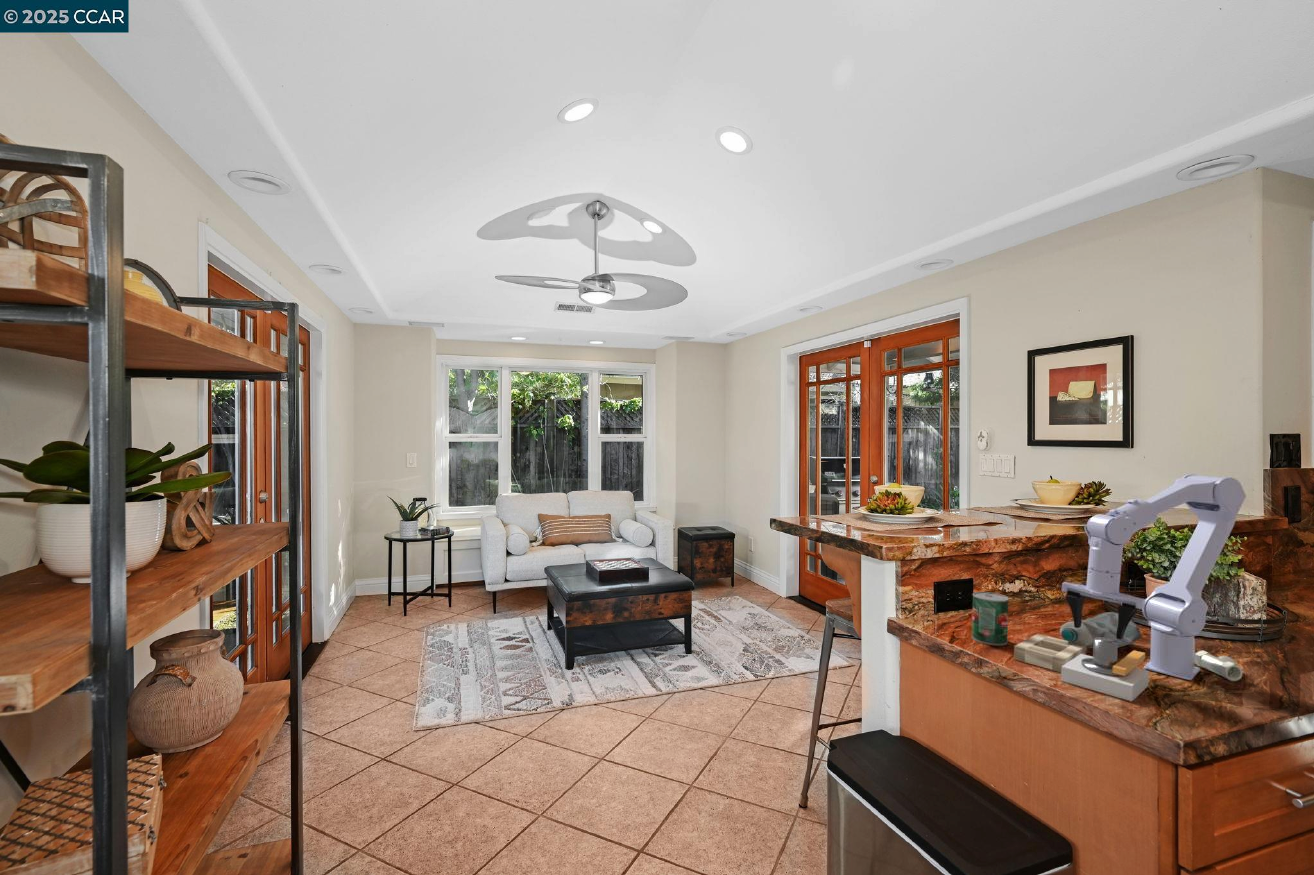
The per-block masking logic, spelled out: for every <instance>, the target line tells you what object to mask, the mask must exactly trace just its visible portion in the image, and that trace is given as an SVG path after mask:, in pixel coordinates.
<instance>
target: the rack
mask: <svg viewBox="0 0 1314 875" xmlns="http://www.w3.org/2000/svg"><path fill="white" fill-rule="evenodd" d="M1080 654H1084V655H1087V649H1086V645H1081V644H1077V643H1073V642H1068V641H1065V640H1064V639H1060V638H1057V637H1053V636H1048V635H1045V634H1040V633H1036V634H1035V635H1033V636H1030V637H1029V638H1027V639H1025V640H1022V641H1021V642H1020V643H1018V644H1015V645H1014V646H1013V660H1015V661H1016V660H1017V661H1019V662H1023V663H1026V664H1030V665H1034V666H1037V667H1041V668H1044V669H1048V670H1051V671H1053V672H1054V671H1055V672H1057V673H1061V667H1062V666H1063V665H1065V664H1066V663H1068V662H1069V661H1071V660H1072V659H1074V658H1075V657H1077V656H1078V655H1080Z"/></svg>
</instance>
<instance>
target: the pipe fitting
mask: <svg viewBox="0 0 1314 875" xmlns="http://www.w3.org/2000/svg"><path fill="white" fill-rule="evenodd" d="M1195 664H1196V666H1197V667H1199V668H1202V669H1204V670H1207V671H1210V672H1212V673H1215V674H1217V675H1219V676H1221V677H1223V678H1224V679H1226V680H1228V681H1230V682H1237V681H1239V680H1241V679H1242V677H1243V668H1242V667H1241V666H1238V664H1237V663H1236V661H1235V660H1234V658H1232V657H1230V656H1228V655H1220V656H1218V657H1217V656H1216V655H1212V654H1211V653H1210V652H1208V651H1205V650H1199V651H1197V652H1195V658H1194V665H1195Z"/></svg>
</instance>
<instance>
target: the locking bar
mask: <svg viewBox="0 0 1314 875" xmlns="http://www.w3.org/2000/svg"><path fill="white" fill-rule="evenodd" d="M1145 659H1146V652H1144V651H1143V652H1142V651H1137V650H1135V649H1134V650H1133V651H1131V652H1130V653H1128V654H1127V655H1125V657H1123V658H1122V659H1120V661H1117V664H1116V665H1114V666H1113V673H1116V674H1119V675H1123V676H1125V675H1126V674H1128V673H1129V672H1130V671H1131V670H1132V669H1134V668H1137V666H1139V664H1141V663H1142V662H1143V661H1144V660H1145Z"/></svg>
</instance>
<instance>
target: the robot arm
mask: <svg viewBox="0 0 1314 875" xmlns="http://www.w3.org/2000/svg"><path fill="white" fill-rule="evenodd" d="M1246 498H1247V495H1246V493H1245V490H1244V488H1243V486H1242V483H1241V482H1240V481H1239V480H1238V479H1236V478H1234V477H1231V476H1230V477H1227V476H1225V477H1221V476H1209V475H1199V474H1198V475H1197V474H1194V473H1192V474H1191V473H1189V474H1186V475H1184V476H1182V477H1180V478H1176V479H1175V481H1174V484H1172V485H1170V486H1169V487H1167V488H1166V489H1163V490H1162V491H1160V492H1158V493H1157V494H1155V495H1153V496H1152V497H1150V498H1148V499H1146V500H1144V499H1140V498H1137V499H1136V498H1130V499H1128V500H1127V501H1126V502H1127V503H1125V504H1123V505H1121V506H1120V507H1117V508H1116V509H1115V508H1111V509H1109V511H1108V512H1107V513H1106V514H1101V513H1100V514H1095V515H1093V516H1092V517H1090V518H1089V519H1088V521H1087V523H1086V524H1085V525H1084V531H1085V534H1086V535H1087V537H1088V542H1087V544H1088V545H1089V551H1088V552H1089V554H1088V564H1087V574H1086V575H1087V576H1086V585H1084V584H1079V583H1073V582H1067V581H1063V582H1062V583H1061V592H1065V593H1066V594H1065V600H1066V602H1067V603H1068V606H1069V610H1070V612H1071V614H1072V619H1073V621H1074V627H1075V628H1080V627H1081V623H1082V620H1083V610H1084V609H1083V608H1084V602H1085V599H1086V597H1088V598H1093V599H1097V600H1101V601H1106V602H1111V603H1115V604H1120V605H1118V607H1117V610H1118V611H1117V613H1118V628H1117V634H1116V638H1117V639H1122V638H1123V636H1124V633H1125V630H1126V628H1127V626H1128V624H1129V622H1130V620H1131V621H1132V619H1133V618H1134V616H1135V615H1136V613H1138V611H1139V610H1142V611H1141V612H1142V615H1143V617H1144V619H1146V620H1147V622H1148V626H1150V628H1151V629H1150V652H1149V653H1150V654H1149V655H1150V656H1149V658H1150V659H1149V662H1147V663H1145V665H1144V666H1143V669H1145V670H1147V671H1152V672H1157V673H1160V674H1163V675H1164V674H1165V675H1167V676H1171V677H1176V678H1180V679H1182V680H1183V679H1184V680H1186V681H1187V680H1188V681H1192V680H1193V679H1194V678H1195V677H1196V675H1197V674H1198V673H1200V671H1201V667H1199V666H1195V663H1194V658H1195V653H1196V652H1195V651H1196V649H1195V648H1196V641H1195V637H1197V636H1199V635H1198V634H1199V633H1201V631H1203V629H1204V627H1205V626H1206V616H1207V612H1208V610H1209V605H1208V604H1207V603H1206V601H1205V600H1204V599H1203V597H1202V596H1201V593H1202V592H1203V589H1204V587H1205V586H1206V583H1207V581H1208V579H1209V577H1210V575H1211V573H1212V570H1213V569H1214V567H1215V565H1216V563H1217V561H1218V558H1219V557H1220V554H1221V553H1222V550H1223V549H1224V546H1225V545H1226V543H1227V540H1228V539H1229V537H1230V534H1231V532H1232V530H1233V528H1234V526H1235V524H1236V519H1237V516H1238V514H1239V511H1240V510H1241V508H1242V507H1243V506H1242V505H1243V504H1244V501H1245V500H1246ZM1184 504H1185V505H1186V507H1188V509H1189V510H1190V511H1191V512H1192V513H1193V515H1195V516H1197V519H1198V523H1197V525H1196V527H1195V529H1194V531H1193V533H1192V535H1191V537H1190V539H1189V541H1188V543H1187V545H1186V547H1185V549H1184V552H1183V553H1182V555H1181V558H1180V559H1179V561H1178V564H1177V566H1176V568H1175V570H1174V571H1173V574H1172V575H1171V578H1170V580H1169V582H1167V583H1165V584H1162V585H1159V586H1156V587H1155V588H1154V590H1153V592H1152V593H1151V594H1150V595H1149V596H1148V597H1146V598H1142V597H1136V596H1134V595H1130V594H1126V593H1122V592H1120V582H1121V570H1122V561H1123V550H1124V544H1127V543H1128V542H1130V540H1131V539H1132V536H1133V535H1135V533H1136V532H1138V531H1140V530H1142V529H1144V528H1146V527H1148V526H1150V525H1152V524H1154V523H1155V522H1156V521H1157V520H1158V515H1159V514H1161V513H1164V512H1167V511H1169V510H1172V509H1174V508H1176V507H1179V506H1181V505H1184Z"/></svg>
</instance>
